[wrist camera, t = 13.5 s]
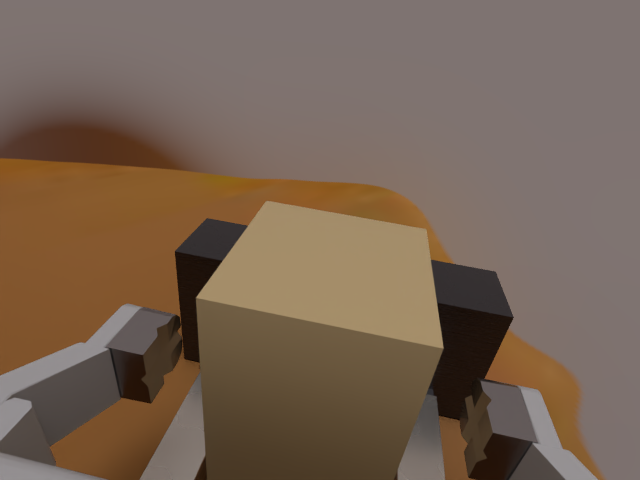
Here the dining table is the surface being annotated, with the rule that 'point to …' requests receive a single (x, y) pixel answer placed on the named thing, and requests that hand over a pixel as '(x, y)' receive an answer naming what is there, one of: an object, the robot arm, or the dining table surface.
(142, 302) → the dining table surface
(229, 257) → the tall tan pillar block
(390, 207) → the dining table surface
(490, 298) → the pallet fork attachment
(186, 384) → the dining table surface
